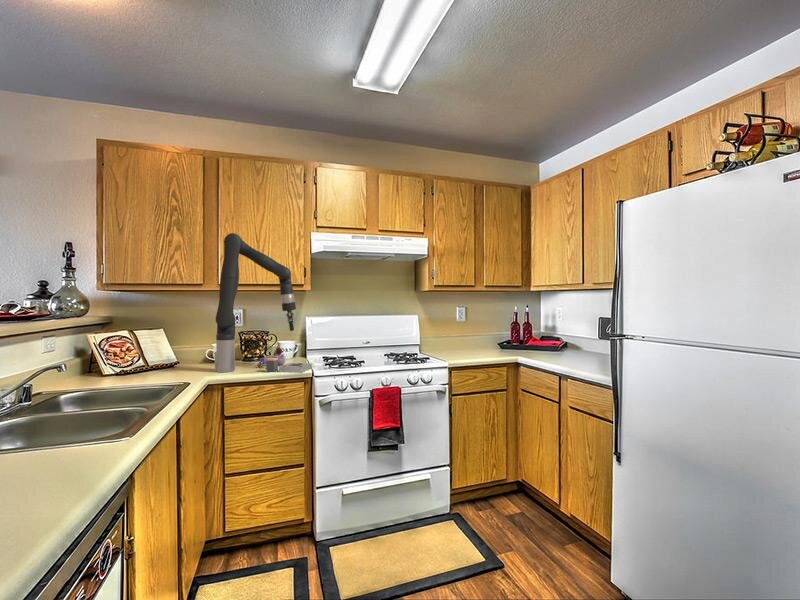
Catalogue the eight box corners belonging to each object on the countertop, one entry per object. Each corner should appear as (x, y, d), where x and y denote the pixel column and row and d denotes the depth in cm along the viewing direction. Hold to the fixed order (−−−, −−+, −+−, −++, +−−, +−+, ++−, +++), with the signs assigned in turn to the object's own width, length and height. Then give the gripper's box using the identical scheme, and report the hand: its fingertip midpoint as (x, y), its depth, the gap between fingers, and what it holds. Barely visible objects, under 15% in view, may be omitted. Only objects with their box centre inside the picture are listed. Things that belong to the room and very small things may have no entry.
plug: (266, 372, 207) (266, 359, 207) (270, 370, 211) (270, 357, 212) (273, 372, 206) (273, 359, 206) (277, 371, 211) (277, 358, 211)
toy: (284, 376, 227) (293, 352, 233) (266, 367, 216) (276, 342, 222) (272, 374, 232) (281, 351, 238) (254, 365, 221) (264, 341, 227)
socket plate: (279, 372, 208) (279, 366, 208) (290, 367, 220) (290, 362, 220) (301, 372, 205) (301, 366, 205) (311, 368, 218) (311, 363, 218)
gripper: (281, 302, 226) (285, 330, 227) (281, 303, 212) (285, 332, 213) (294, 301, 228) (298, 328, 229) (295, 301, 214) (298, 330, 215)
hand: (292, 330), depth 221 cm, fingers open, 8 cm apart
